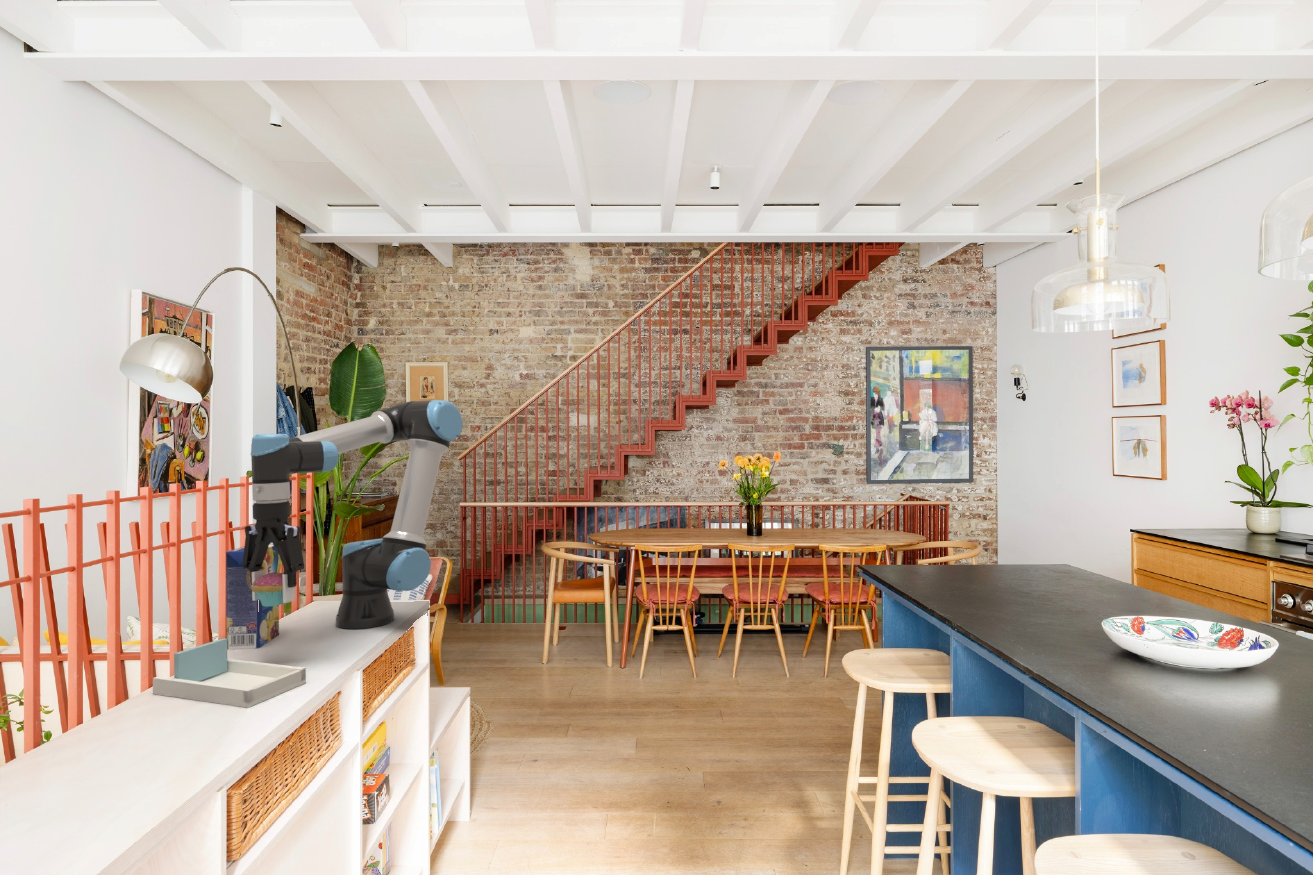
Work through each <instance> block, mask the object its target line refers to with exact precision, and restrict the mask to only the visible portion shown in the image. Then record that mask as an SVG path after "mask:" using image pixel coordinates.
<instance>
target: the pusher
mask: <svg viewBox="0 0 1313 875" xmlns="http://www.w3.org/2000/svg"><path fill="white" fill-rule="evenodd" d="M227 659H228V650H227V639H226V638H225V637H224V638H220V639H217V640H214V641H210V642H207V643H203V644H201V645H200V644H199V645H197V646H194V647H191V648H188V649H187V648H186V649H184V650H181V651H177V652H174V653H173V670H174V672H173V678H176V679H184V680H191V681H201V680H204V679H207V678H209V677H212V676H215V675H218V674H221V673H223V672H226V671H227Z"/></svg>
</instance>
